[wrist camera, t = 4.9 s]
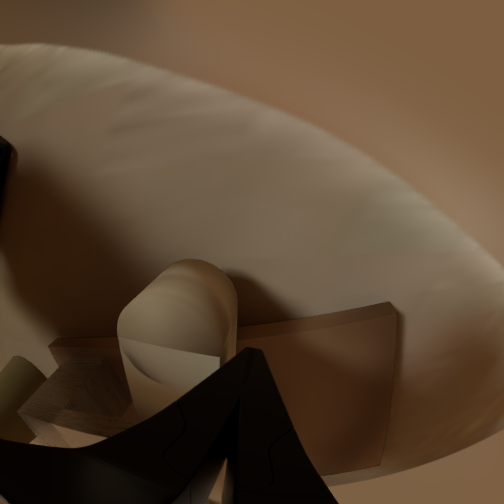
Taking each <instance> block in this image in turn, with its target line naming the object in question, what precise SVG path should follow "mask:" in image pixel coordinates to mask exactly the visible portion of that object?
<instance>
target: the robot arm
mask: <svg viewBox="0 0 504 504" xmlns="http://www.w3.org/2000/svg"><path fill="white" fill-rule="evenodd" d="M9 156H10V145H9V144H8V143H7V142H6V141H5V140H3V139H2V138H1V137H0V197H1V192H2V187H3V182H4V177H5V172H6V168H7V164H8V160H9ZM226 458H227V462H226V470H225V478H224V486H223V494H222V503H221V504H339V503H338V502H337V501H336V499H335V498H334V496H333V495H332V493H331V492H330V490H329V489H328V487H327V486H326V484H325V483H324V481H323V480H322V478H321V477H320V475H319V473H318V472H317V470H316V469H315V467H314V465H313V464H312V462H311V460H310V459H309V457H308V455H307V454H306V452H305V450H304V447H303V445H302V443H301V441H300V439H299V437H298V434H297V432H296V430H295V429H294V425H293V423H292V421H291V418H290V416H289V413H288V411H287V409H286V406H285V404H284V401H283V399H282V397H281V394H280V392H279V389H278V387H277V384H276V382H275V380H274V377H273V375H272V372H271V370H270V367H269V365H268V362H267V360H266V357H265V355H264V352H263V350H261V349H257V348H253V347H248V346H247V347H245V348H244V349H243V350H241V351H240V352H239V353H238V354H236V355H235V356H234V357H233V358H231V359H230V360H229V361H227V362H226V363H225V364H224V365H222V366H221V367H220V368H218V369H217V370H216V371H215V372H213V373H212V374H211V375H209V376H208V377H207V378H205V379H204V380H203V381H201V382H200V383H199V384H197V385H196V386H195V387H193V388H192V389H191V390H189V391H188V392H187V393H185V394H184V395H182V396H181V397H180V398H178V399H177V400H176V401H174V402H172V403H171V404H170V405H168V406H167V407H165V408H164V409H162V410H161V411H159V412H158V413H156V414H155V415H153V416H151V417H149V418H148V419H146V420H144V421H142V422H140V423H138V424H136V425H134V426H132V427H130V428H128V429H126V430H124V431H122V432H119V433H117V434H115V435H113V436H111V437H108V438H106V439H104V440H102V441H99V442H97V443H94V444H92V445H88V446H84V447H78V448H63V447H52V446H43V445H35V444H28V443H22V442H16V441H10V440H5V439H1V438H0V504H205V503H206V501H207V499H208V497H209V495H210V493H211V491H212V489H213V487H214V485H215V482H216V480H217V478H218V476H219V474H220V471H221V469H222V467H223V465H224V463H225V460H226Z"/></svg>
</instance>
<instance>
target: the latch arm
mask: <svg viewBox="0 0 504 504" xmlns="http://www.w3.org/2000/svg"><path fill="white" fill-rule="evenodd" d="M237 313H238V298H237V293H236V290H235V288H234V285H233V283H232V282H231V280H230V279H229V278H228V276H227V275H226V274H225V273H224V272H223V271H222V270H220V269H219V268H218V267H216V266H214V265H213V264H211V263H208V262H206V261H202V260H197V259H185V260H181V261H178V262H175V263H173V264H172V265H170V266H169V267H168V268H167V269H165V270H164V271H163V272H162V273H161V274H160V275H159V276H158V277H157V278H156V279H155V280H153V281H152V282H151V283H150V284H149V285H148V286H147V287H146V288H145V289H144V290H143V291H142V292H141V293H139V294H138V295H137V296H136V297H135V298H134V299H133V300H132V301H131V302H130V303H129V304H128V305H127V306H126V307H125V308H124V309H123V310H122V312H121V314H120V316H119V319H118V323H117V335H118V341H119V346H120V351H121V355H122V360H123V364H124V369H125V373H126V377H127V381H128V385H129V389H130V392H131V396H132V400H133V403H134V407H135V410H136V413H137V417H138V420H143V421H144V420H146V419H148V418H149V417H151V416H153V415H155V414H156V413H158V412H159V411H161V410H162V409H164V408H165V407H167V406H168V405H170V404H171V403H172V402H174V401H176V400H177V399H178V398H180V397H181V396H182V395H184V394H185V393H187V392H188V391H189V390H191V389H192V388H193V387H195V386H196V385H197V384H199V383H200V382H201V381H203V380H204V379H205V378H207V377H208V376H209V375H211V374H212V373H213V372H215V371H216V370H217V369H218V368H220V367H221V366H222V365H224V364H225V363H226V362H227V361H229V360H230V359H231V358H233V357H234V356H235V353H236V333H237ZM226 462H227V458H226V460H225V463H224V465H223V467H222V469H221V471H220V474H219V476H218V478H217V480H216V482H215V485H214V487H213V489H212V491H211V493H210V495H209V497H208V499H207V501H208V502H210V503H212V504H221V503H222V494H223V486H224V478H225V470H226Z"/></svg>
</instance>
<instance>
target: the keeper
mask: <svg viewBox="0 0 504 504" xmlns="http://www.w3.org/2000/svg"><path fill="white" fill-rule="evenodd" d="M131 403H132V401H131V400H130V398H129V397H128V395H127V393H126V392H125V390H124V389H123V387H122V385H121V384H120V382H119V380H118V379H117V377H116V375H115V374H114V372H113V370H112V368H111V366H110V365H109V363H108V361H107V359H106V358H68V359H67V360H66V361H65V362H64V363H63V364H62V365H61V366H60V367H59V368H58V369H57V370H56V371H55V372H54V373H53V374H52V375H51V376H50V377H49V378H48V379H47V380H46V381H45V382H44V383H43V384H42V385H41V386H40V387H39V388H38V389H37V391H36V392H35V393H34V394H33V395H32V396H31V397H30V398H29V399H28V400H27V401H26V402H25V403H24V404H23V406H22V407H21V408H20V409H19V410H18V411H17V412H18V414H19V415H20V416H21V417H22V419H23V420H24V421H25V423H26V424H27V425H28V426H29V428H30V429H31V430H32V431H33V433H34V434H35V435H36V436H37V437H38V438H39V440H40V441H41V442H42V443H43V444H44V445H45V446H52V447H63V448H78V447H84V446H88V445H92V444H94V443H97V442H99V441H102V440H104V439H106V438H108V437H111V436H113V435H115V434H117V433H119V432H122V431H124V430H126V429H128V428H130V427H132V426H134V425H136V424H138V423H140V422H142V421H143V420H133V419H124V418H122V417H123V416H124V414H125V413H126V411H127V409H128V408H129V406H130V404H131ZM205 504H212V503H210V502H208V501H206V503H205Z"/></svg>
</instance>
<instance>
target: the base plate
mask: <svg viewBox="0 0 504 504" xmlns="http://www.w3.org/2000/svg"><path fill="white" fill-rule="evenodd" d="M396 332H397V313H396V311H395V310H394V308H393V307H392V305H391V304H390V302H385V303H380V304H375V305H371V306H366V307H361V308H356V309H351V310H346V311H341V312H335V313H330V314H324V315H318V316H313V317H307V318H300V319H294V320H288V321H281V322H274V323H267V324H260V325H252V326H244V327H237V333H236V353H235V355H236V354H238V353H239V352H240V351H241V350H243V349H244V348H245V347H247V346H248V347H253V348H257V349H261V350H263V352H264V355H265V357H266V360H267V362H268V365H269V367H270V370H271V372H272V375H273V377H274V380H275V382H276V384H277V387H278V389H279V392H280V394H281V397H282V399H283V401H284V404H285V406H286V409H287V411H288V413H289V416H290V418H291V421H292V423H293V425H294V429H295V430H296V432H297V434H298V437H299V439H300V441H301V443H302V445H303V447H304V450H305V452H306V454H307V455H308V457H309V459H310V460H311V462H312V464H313V465H314V467H315V469H316V470H317V472H318V473H319V475H320V476H325V475H332V474H338V473H345V472H350V471H356V470H361V469H366V468H370V467H375V466H379V465H380V464H381V459H382V454H383V449H384V444H385V439H386V433H387V427H388V421H389V414H390V407H391V399H392V390H393V380H394V368H395V354H396ZM48 348H49V349H50V351H51V353H52V355H53V357H54V359H55V361H56V362H57V364H58V366H59V367H60V366H61V365H62V364H63V363H64V362H65V361H66V360H67V359H68V358H106V359H107V361H108V363H109V365H110V366H111V368H112V370H113V372H114V374H115V375H116V377H117V379H118V380H119V382H120V384H121V385H122V387H123V389H124V390H125V392H126V393H127V395H128V397H129V398H130V400H131V401H132V403H131V404H130V406H129V408H128V409H127V411H126V413H125V414H124V416H123V417H122V418H124V419H133V420H138V417H137V413H136V410H135V407H134V403H133V400H132V396H131V392H130V389H129V385H128V381H127V377H126V373H125V369H124V364H123V360H122V355H121V351H120V346H119V341H118V337H101V338H57V339H56V340H54V341H53V342H52V343H51V344H50V345H49V346H48Z"/></svg>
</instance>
